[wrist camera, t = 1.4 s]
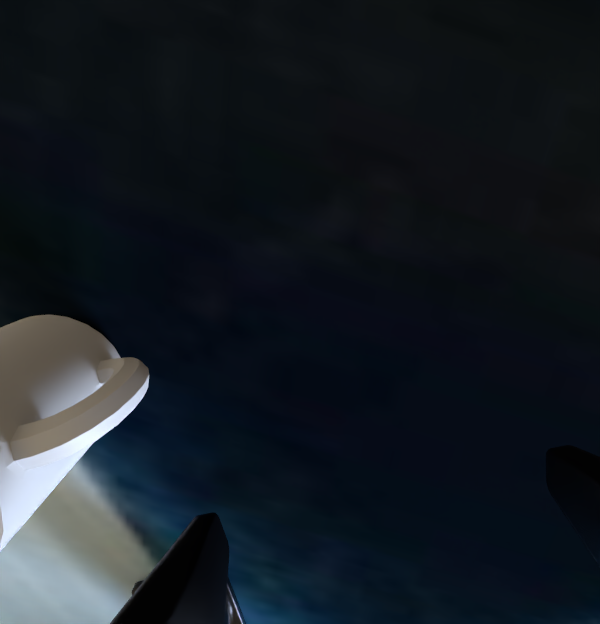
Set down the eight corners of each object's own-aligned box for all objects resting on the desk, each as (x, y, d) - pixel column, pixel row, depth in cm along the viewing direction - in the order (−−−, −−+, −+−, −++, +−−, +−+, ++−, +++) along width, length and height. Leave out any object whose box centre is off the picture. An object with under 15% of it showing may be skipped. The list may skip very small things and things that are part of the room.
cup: (-28, 328, 18) (-310, 434, 10) (151, 284, 18) (18, 356, 9) (34, 440, 20) (-154, 608, 12) (196, 403, 20) (122, 552, 11)
